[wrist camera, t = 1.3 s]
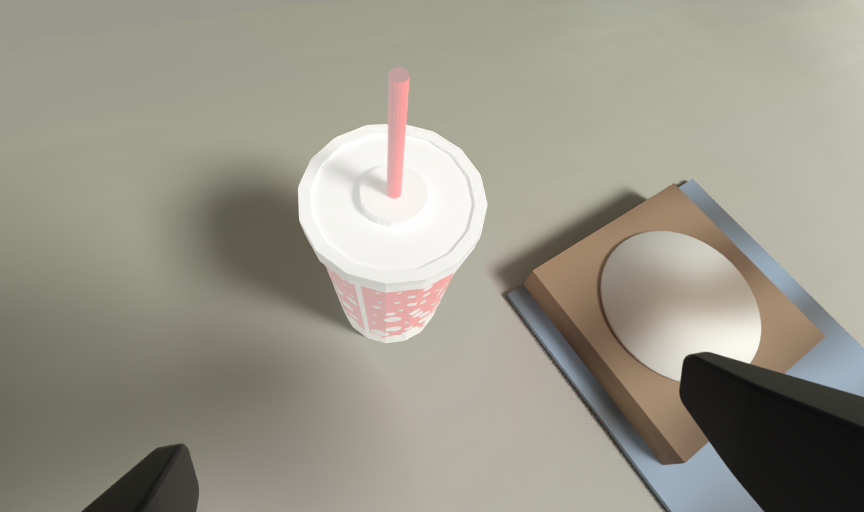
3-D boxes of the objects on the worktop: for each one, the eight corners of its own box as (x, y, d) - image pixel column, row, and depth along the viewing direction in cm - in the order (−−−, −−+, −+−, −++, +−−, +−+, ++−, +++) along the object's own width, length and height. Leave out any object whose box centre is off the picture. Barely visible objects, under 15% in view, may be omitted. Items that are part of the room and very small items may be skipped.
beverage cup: (470, 272, 24) (564, 43, 12) (418, 382, 22) (469, 233, 9) (364, 224, 25) (347, -42, 13) (301, 323, 22) (201, 112, 10)
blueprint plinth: (926, 418, 23) (977, 411, 21) (748, 619, 19) (791, 633, 17) (689, 181, 28) (712, 158, 26) (506, 296, 24) (517, 278, 22)
